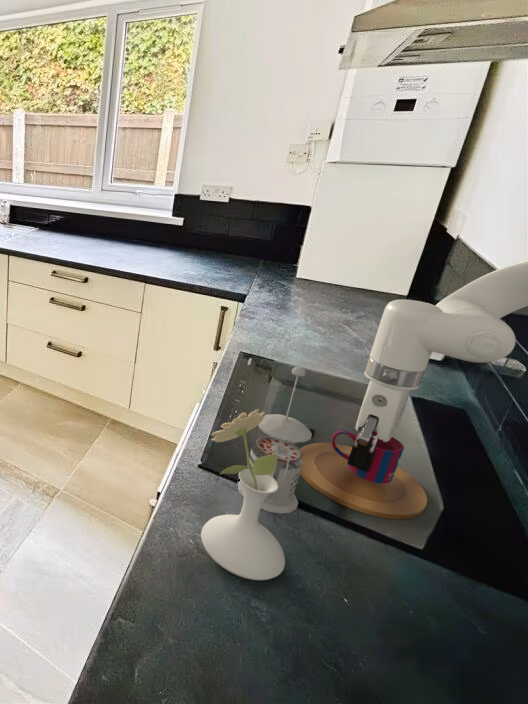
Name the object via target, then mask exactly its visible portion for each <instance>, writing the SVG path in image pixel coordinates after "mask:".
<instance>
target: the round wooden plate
mask: <svg viewBox="0 0 528 704" xmlns="http://www.w3.org/2000/svg"><path fill="white" fill-rule="evenodd" d="M335 445H336V447H337V448H338V449H339V450H340V451H341V452H343V453H345V454H347V455H350V453H351V450H352V447H353V446H350V445H344V444H338V443H335ZM299 449H300V450H301V452H302V454H303V455H302V458H301V459H302V461H303V464H302V468H301V471H300V476H301V477H302V478H303V479H304V480H305V482H306V483H308V484H309V485H310V486H311V487H312V488H313V489H315V490H316V491H317V492H319V493H320V494H321V495H323V496H325V497H327V498H328V499H330V500H332V501H334V502H336V503H337V504H340V505H341V506H344V507H346V508H348V509H351V510H354V511H356V512H359V513H362V514H365V515H368V516H373V517H377V518H383V519H389V520H407V519H413V518H417V517H418V516H420V515H421V514H422V513H423V512H424V511H425V510H426V507H427V504H428V496H427V494H426V492H425V490H424V488H423V486H422V485H420V483H419V482H418V481H417V480H416V479H415V478H414V477H413V476H412V475H410V474H409V473H408V472H406V471H405V470H403V469H402V468H400V467H399V466H397V468H396V471H395V474H394V476H393V479H392V481H391V482H389V483H385V484H381V483H374V482H371V481H368V480H365V479H363V478H361V477H359V476H357V475H356V474H354V473H353V472H352V471H351V470H350V469H349V467H348V465H347V464H348V463H347V462H348V460H347V459H345V458H343V457H342V456H340V455H339V454H338V453H337V452H336V451H335V450H334V449H333V447H332V442H315V443H314V442H313V443H309V444H305V445H303V446H302V447H301V448H299ZM295 468H296V469H297V468H299V466H297V465H295Z"/></svg>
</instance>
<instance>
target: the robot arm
mask: <svg viewBox="0 0 528 704" xmlns="http://www.w3.org/2000/svg"><path fill="white" fill-rule="evenodd" d="M526 307H528V258H525V259H522V260H520V261H517V262H515V263H513V264H510V265H509V264H508V265H506V266H504V267H501V268H499V269H495V270H493V271H491V272H488V273H486V274H484V275H482V276H480V277H477V278H476V279H474V280H472V281H470V282H468V283H467V284H466V285H463V286H462V287H460V288H459V289H457V290H455V291H454V292H452V293H450V294H449V295H447V296H445V297H444V298H443V299H441V300H440V301H439V302H437V304H435V305H434V304H432V303H429V302H425V301H420V300H414V299H403V298H402V299H394V300H391V301H390V302H388V303H387V304H386V305H385V307H384V310H383V313H382V315H381V319H380V322H379V325H378V328H377V331H376V334H375V337H374V340H373V345H372V347H371V350H370V354H369V356H368V359H367V363H366V366H365V369H364V372H363V373H364V376H365V377H366V378H367V379H368V380H369V383H368V385H367V388H366V391H365V393H364V397H363V400H362V403H361V406H360V409H359V413H358V416H357V420H356V423H355V427H354V428H355V430H356V433H358V432H359V434H358V436H357V439H356V441H355V444H354V443H353V444H352V446H351V447H352V450H351V453H350V456H349V459H348V462H347V463H348V464H349V465H351V466H354V467H356V468H358V469H361V470H363V471H365V472H368V471H369V470H370V467H371V464H372V461H373V458H374V455H375V452H374V449H375V447H376V444H377V442H378V440H379V439H380V440H383V442H388V441H389V440H390V439H391V438H392V437H394V435H395V433H396V432H397V430H398V428H399V427H400V424H401V421H402V418H403V415H404V411H405V408H406V406H407V402H408V399H409V397H410V392H411V391H416V390H418V389H419V388H420V386H421V382H422V380H423V377H424V375H425V372H426V369H427V367H428V364H429V361H430V358H431V357H432V353H436V354H440V355H444V356H447V357H449V358H454V359H458V360H462V361H465V362H471V363H481V364H482V363H483V364H484V363H492V362H496V361H499V360H502V359H504V358H506V357H507V356H508V355H510V354H511V353H512V352H513V350H514V348H515V346H516V335H515V332H514V331H513V329H512V327H511V326H510V325H508V324H507V323H506V321H504V320H502V318H503V317H506V316H507V315H509V314H512V313H514V312H516V311H519V310H520V309H523V308H526ZM373 431H374V432H376V433H377V435H376V436H375V435H372V433H373ZM370 438H373V439H374V440H373V442H372V444H371V442H369V441H370Z"/></svg>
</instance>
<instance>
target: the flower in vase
mask: <svg viewBox="0 0 528 704" xmlns="http://www.w3.org/2000/svg"><path fill="white" fill-rule="evenodd" d="M259 411H260V409H259V408H257V409H255V410H253V411H251V412H250V413H249V414H247V412H245V411H244V412H242V413H240V414H239V415H238V417H236V418H234V419H232V422H224V423H222V424H221V425H220V427H221V429H220V430H216V431H214V432H212V433H211V434H210V436H212V438H211V439H210V440H211V441H212V442H215V443H224V442H229V441H232V440H233V439H236V438H238V437H240V436H241V437H242V439H243V443H244V448H245V455H246V465H243V464H236V465H232V466H229V467H226V468H225V469H223V470H222V471H220V472H219V475H218V476H220V475H224V474H226V475H236V474H238V480H239V479H240V481H241V483H242V485H243V488H244V497H243V501H242V507H241V509H240V513H239V514H230V513H229V514H222V515H221V514H220V515H217V516H213V517H211V518H210V519H208V520H207V522H205V524H203V527H202V529H201V530H200V531H201V532H200V538H201V542H202V545H203V547H204V549H205V551H206V552H207V554H208V555H209V557H210V558H211V559H212V560H213V561H214V562H215V563H216V564H217V565H218V566H220V567H221V568H223V570H225V571H227V572H228V573H230V574H233V575H235V576H237V577H240V578H242V579H245V580H246V579H247V580H251V581H267V580H271V579H273V578H276V577H278V576H280V574H281V573H283V571H284V569H285V566H286V558H285V554H284V550H283V548H282V545H281V544H280V542H279V541H278V540H277V538H276V537H275V535H273V534H272V532H270V531H269V530H268V529H267V528H266V527H265V526H263V525H262V524H261V523H259V516H260V512H261V510H262V509H261V506H262V504H263V502H264V500H265V498H266V497H267V496H268V495H269V494H271V493H274V492H275V491H276V490H277V489H278V483H277V482H276V480H275V479H274V478H273V477H271V476H270V475H269V474H271V473H273V471H274V469H275V465H276V454H272V455H268V456H263V457H260V458H257V459H255V460H254V461H253V462H254V463H253V469H251V467H252V466H251V465H250V461H249V457H250V453H249V446H248V441H247V437H246V436H247V435H246V434H247V433H248V432H250V431H252V430H253V429H254V428H256V427H257V426H258V425H259V424H260V422H261V421H262V420H263V418H264V417H265V415H266V412H265V411H262V412H259ZM247 465H248V467H247ZM247 468H249V469H247Z"/></svg>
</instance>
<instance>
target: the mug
mask: <svg viewBox="0 0 528 704" xmlns="http://www.w3.org/2000/svg"><path fill="white" fill-rule="evenodd" d="M358 434H359V432H356V434H354V433H352V432H350V431H347V430H344V429H340V430H337V431H336V432H335V433H333V435H332V437H331V443H332V447H333V449H334V450H335V451H336V452H337V453H338V454H339V455H340V456H342V457H343V458H345V459H347V460H348V459H349V456H350V455H347V454H345V453H343V452H341V451H340V450H339V449H338V448H337V447H336V445H335V444H336V438H337V437H338V436H339V435H346V436H348V437H350V438H351V439H352V441H353V444H355V441H356V439H357V436H358ZM372 435H375V436H376V435H377V433H376V432H374V431H373V433H372ZM373 440H374V439H373V438H370V441H369V442H371V444H372V442H373ZM404 446H405V445H404V444H403V443H402V442H401V441H399V439H397V438H396V437H394V436H392V438H391V439H390V440H389V441H388V442H383V440H380V439H379V440H378V442H377V444H376V447H375V449H374V452H375V455H374V458H373V461H372V464H371V467H370V470H369V471H368V472H365V471H363V470H361V469H358V468H356V467H354V466H351V465H349V464H347V465H348V467H349V469H350V470H351V471H352V472H353V473H354V474H356V475H357V476H359V477H361V478H363V479H365V480H368V481H371V482H374V483H381V484H385V483H389V482H391V481H392V479H393V476H394V474H395V471H396V468H397V467H399V466H398V464H399V463H400V460H401V458H402V454H403V452H404V449H405V447H404Z"/></svg>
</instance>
